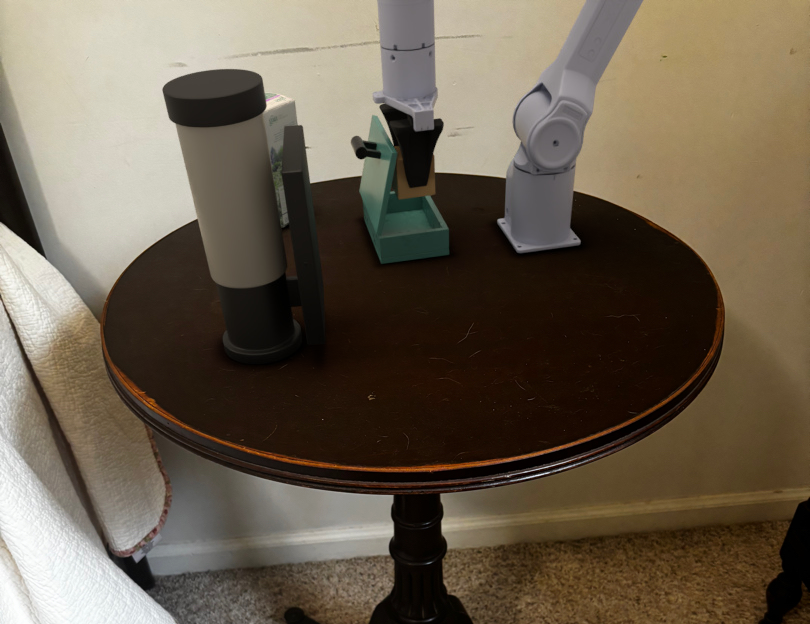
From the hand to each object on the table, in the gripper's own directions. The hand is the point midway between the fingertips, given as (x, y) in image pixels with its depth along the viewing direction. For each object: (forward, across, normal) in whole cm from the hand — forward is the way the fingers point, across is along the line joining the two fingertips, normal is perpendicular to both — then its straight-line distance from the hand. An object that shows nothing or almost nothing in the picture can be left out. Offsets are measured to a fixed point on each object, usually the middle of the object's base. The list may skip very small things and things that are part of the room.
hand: (413, 178), depth 93 cm
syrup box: (+9, -14, -16) cm, 23 cm away
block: (+1, 0, 0) cm, 1 cm away
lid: (0, -4, -3) cm, 5 cm away
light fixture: (+9, +17, -19) cm, 27 cm away
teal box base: (+8, -4, -1) cm, 9 cm away
